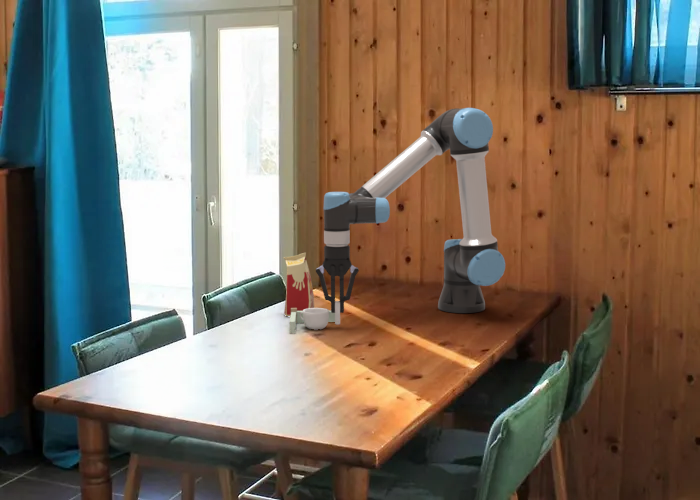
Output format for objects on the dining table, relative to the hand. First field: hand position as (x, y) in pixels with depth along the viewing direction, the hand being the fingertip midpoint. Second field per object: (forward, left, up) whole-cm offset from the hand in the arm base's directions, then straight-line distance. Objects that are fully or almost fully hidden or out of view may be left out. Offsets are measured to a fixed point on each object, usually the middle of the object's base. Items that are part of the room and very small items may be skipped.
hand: (337, 323), depth 266 cm
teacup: (+7, 0, -2) cm, 7 cm away
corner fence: (+7, -1, -1) cm, 7 cm away
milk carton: (+12, -19, -2) cm, 23 cm away
